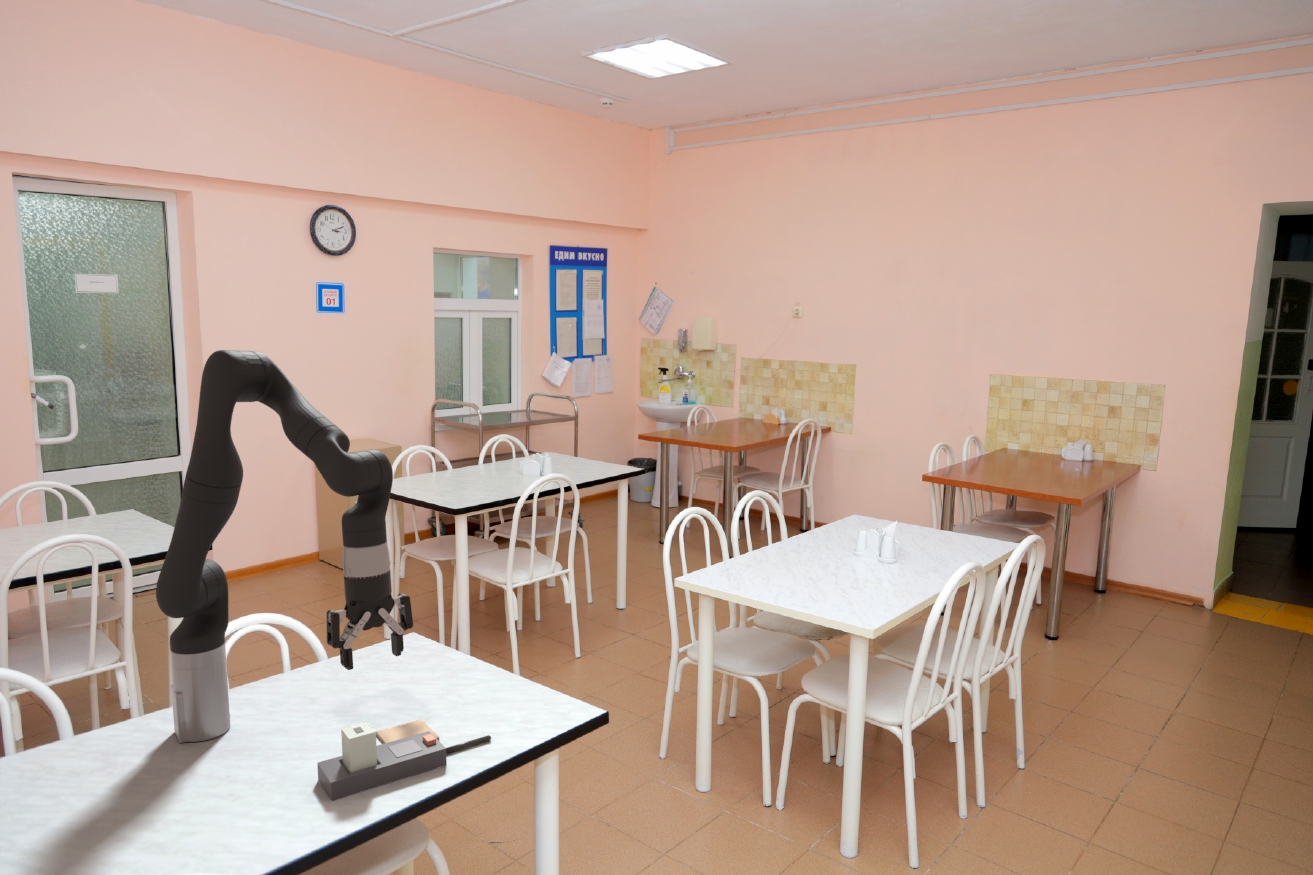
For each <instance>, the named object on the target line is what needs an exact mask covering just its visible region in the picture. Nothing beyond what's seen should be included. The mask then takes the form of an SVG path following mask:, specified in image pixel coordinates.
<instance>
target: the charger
mask: <svg viewBox="0 0 1313 875" xmlns="http://www.w3.org/2000/svg"><path fill="white" fill-rule="evenodd" d="M340 730H341V751H342V752H341V753H342V754H341V756H342V757H343V767H344V769H345V770H346V771H347V773H348V774H350V773H353V772H356V771H360V770H363V769H366V768H370V767H373V766H376V765H377V746H378V745H377V735H376V732H377V731H376V730H375V729H374V727H373V726H372V725H371V724H370V723H369V722H368V721H365V722H361V723H358V724H354V725H349V726H347V727H343V728H340Z"/></svg>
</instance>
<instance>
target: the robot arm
mask: <svg viewBox="0 0 1313 875" xmlns="http://www.w3.org/2000/svg"><path fill="white" fill-rule="evenodd" d="M199 388H200V391H199V398H198V399H199V401H198V408H197V409H198V410H197V419H196V426H195V431H194V437H193V443H192V449H191V452H190V457H189V461H188V466H187V469H186V472H185V477H184V481H183V486H182V492H181V498H180V503H179V507H178V512H177V516H176V519H175V524H174V527H173V531H172V537H171V539H170V543H169V546H168V549H167V552H166V554H165V558H164V560H163V563H162V566H161V569H160V572H159V575H158V578H157V582H156V587H155V598H156V603H157V605H158V608H159V609H160V611H161V612H162V613H163V614H164V615H165V616H166V617H168V618H172V619H182V620H181V621H180V623H179V624H178V626H177V627H176V628H175V629H174V630H173V631H172V632H171V634H170V636H169V650H170V662H171V663H170V664H171V675H172V676H171V677H172V680H171V681H172V683H171V687H170V688H171V698H172V700H171V701H172V713H173V726H174V733H175V736H176V738H177V741H178V742H177V743H178V744H181V743H186V742H187V743H188V742H194V743H195V742H203V741H208V740H212V739H214V738H217V737H219V736H221V735H223V734H225V733H226V732H227V731H229V729H230V728H231V712H230V700H229V698H230V697H229V685H228V684H229V682H228V668H227V667H228V666H227V665H228V664H227V654H226V632H227V629H228V626H229V584H228V579H227V575H226V573H225V570H224V569H223V567H222V566H221V565H220V564H219V563H218V562H217V561H215V560H212V559H209V558H208V559H207V556H208V553H209V551H210V548H211V547H212V545H213V544H214V542H215V541H216V539H217V537H218V536H219V535H220V533H221V532H222V530H223V528H224V527H225V526H226V525H227V523H228V521H229V519H230V518H231V517H232V515H233V513H234V511H235V509H236V506H237V504H238V501H239V498H240V493H241V488H242V484H243V479H244V468H243V463H242V460H241V457H240V455H239V452H238V450H237V448H236V446H235V444H234V443H235V442H234V441H233V438H232V432H231V427H232V426H231V425H232V420H233V415H234V414H233V412H234V410H235V407H236V406H235V405H236V403H254V402H258V403H261V404H263V405H265V406H266V407H268V408H270V409H271V410H273V411H274V412H275V413H276V414H277V415H278V416H279V418H280V422H281V423H280V424H281V426H282V430H283V432H284V434H285V436H286V439H288V441H289V442H290V443H291V444H292V445H293V446H294V448H296V449H297V450H299V452H300V453H302V454H304V456H306V457H307V458H308V459H309V460H311V461H312V462H313V463H314V465H315V468H317V470H318V472H319V473H320V475H321V476H322V478H323V480H324V482H325V483H326V485H327V486H328V488H329V489H330V490H331V491H333V492H335V493H336V494H338V495H340V496H343V497H347V498H348V497H351V498H352V497H356V496H357V500H356V503H355V504H354V505H353V506H352V507H351V508H348V509H347V510H346V511H345V512H344V513H343V514H342V516H341V533H342V547H343V548H342V549H343V550H342V573H343V585H344V586H343V587H344V598H345V606H344V608H343V609H338V610H333V609H328V610H327V612H326V643H327V645H328V646H330V647H331V648H333V649H339V657H340V658H339V659H340V664H341V666H342V667H344V669H346V670H348V671H350V670H354V661H353V660H354V658H353V648H352V645H353V643H354V641H355V639H357V638H358V637H359V636H360V634H361V632H362V631H368V630H371V629H373V628H380V627H381V628H382V626H383V625H385V626H387V628H389V630H391V631H392V632H391V633H390V642H391V653H392V655H393V656H395V657H399V656H402V652H403V651H404V648H405V647H404V633H405V631H407V630H410V629H413V627H414V620H413V611H412V603H411V597H410V596H409V595H408V594H405V593H403V592H400V593H398V595H397V596H394V597H393V595H392V590H393V589H392V576H391V574H392V573H391V558H390V550H389V547H388V545H389V544H388V539H387V535H388V534H387V523H386V522H387V521H386V515H387V511H388V508H389V503H390V498H391V493H392V486H393V480H394V479H393V478H394V473H393V467H392V464H391V461H390V460H389V458H388V456H387V455H386V454H385V453H384V452H382V451H381V450H378V449H368V450H367V449H366V450H363V451H357V452H350V453H349V450H350V446H351V442H350V439H349V436H348V435H347V434H346V433H345V432H344V431H343V430H342V429H341V428H340V427H339V426H337V425H336V424H335V423H333V421H331V420H330V419H328V417H326V416H325V415H324V414H322V413H321V412H320V411H318V410H317V409H316V408H315V407H314V406H313V405H312V404H311V403H310V401H308V400H307V399H306V398H305V396H304V395H303V394H302V393H301V392H300V391H299V389H298V388H297V387H296V386H295V385H294V384H293V382H291V380H290V379H289V378H288V377H287V375H286V374H285V373H284V372H283V371H282V369H281V368H280V367H279V366H278V365H277V364H276V363H275V361H274V360H272V358H270V357H269V356H268V355H267V354H265V353H262V352H260V351H256V350H255V351H254V350H240V349H239V350H238V349H237V350H235V349H220V350H219V349H218V350H216V351H214V352H212V353H211V354H210V355H209V356H208V358H207V360H206V361H205V364H204V366H203V370H202V374H201V381H200V387H199ZM394 607H396V608H398V612H399V613H398V614H399V621H400V622H397V620H396V619H395V618H394V617H393V616H392V615H391V613H392V610H393V608H394ZM344 618H346V619H348V620H347V623H346V624H345V626H344V627H343V632H342V633H341V631H340V626H341V624H342V622H343V619H344ZM340 634H341V635H340Z"/></svg>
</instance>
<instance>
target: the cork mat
mask: <svg viewBox="0 0 1313 875" xmlns="http://www.w3.org/2000/svg"><path fill="white" fill-rule="evenodd" d="M427 731H430V732H431V733H432V734H433V735H434V736H435V737H436V738H437V739H438V740H439V741H440V736H439V735H438V734H437V733H436V732H435V731H434V730H433V729H432V728H431V727H430V726H429V725H428V724H427V723H426V721H424V720H423V719H418V720H414V721H410V722H407V723H404V724H400V725H395V726H392V727H389V728H385V729H382V730H379V731H376V737H377V738H378V739H379V740H380V741H381V743H382V744H385V743H388V742H392V741H395V740H399V739H402V738H406V737H410V736H413V735H417V734H420V733H424V732H427Z"/></svg>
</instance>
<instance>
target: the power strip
mask: <svg viewBox="0 0 1313 875" xmlns="http://www.w3.org/2000/svg"><path fill="white" fill-rule="evenodd" d="M491 739H492V736H491V735H484V736H481V737H478V738H476V739H471V740H469V741H468V740H467V741H465V742H461V743H459V744H455V745H451V746H447V747H446V746H445V745H444V744H442V743H441V742H440V739H439V740H438V739H437V738H436V737H435V736H434V735H433V734H432V733H431V732H430V731H427V732H424V733H420V734H417V735H413V736H410V737H406V738H402V739H399V740H395V741H392V742H388V743H385V744H384V743H382V744H378V745H376V746H377V765H376V766H373V767H370V768H366V769H363V770H360V771H356V772H353V773H350V774H348V773H347V771H346V770H345V769H344V767H343V757H342V755H340V756H339V755H338V756H337V757H333V758H329V759H325V760H321V761H318V762H317V780H318V782H319V783H320V785H321V787H322V788H323V790H324V791H325V793H326V794H327V796H328V797H329V799H330V801H331V802H332V801H337V800H340V799H342V798H345V797H349V796H352V795H355V794H359V793H362V792H364V791H365V792H366V791H368V790H371V789H374V788H377V787H382V786H383V785H387V784H391V783H394V782H397V781H400V780H403V779H406V778H410V777H412V776H417V775H419V774H422V773H427V772H429V771H432V770H435V769H436V770H437V769H438V768H441V767H444V766H445V767H446V766H447V764H448V763H447V754H450V753H454V752H457V751H460V750H464V749H466V748H470V747H473V746H477V745H480V744H483V743H487V742H490V741H491Z"/></svg>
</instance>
